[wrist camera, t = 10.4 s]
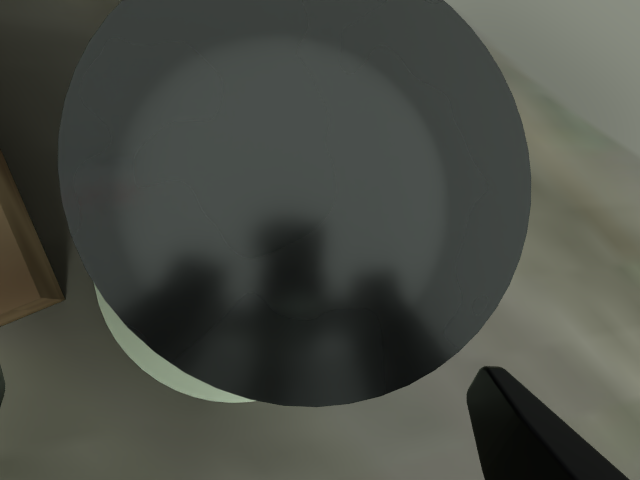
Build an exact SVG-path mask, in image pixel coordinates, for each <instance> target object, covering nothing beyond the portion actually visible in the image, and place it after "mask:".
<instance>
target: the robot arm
mask: <svg viewBox="0 0 640 480" xmlns="http://www.w3.org/2000/svg"><path fill="white" fill-rule="evenodd" d="M4 392H5V380H4V377H3V373H2V369H1V366H0V407H1V403H2V400H3V397H4ZM467 405H468V410H469V414H470V419H471V423H472V428H473V432H474V437H475V441H476V446H477V450H478V455H479V459H480V463H481V467H482V471H483V475H484V478H485V480H629V479H628V478H627V477H626V476H625V475H624V474H623V473H621V472H620V471H619V470H618V469H617V468H616V467H615V466H614V465H612V464H611V463H610V462H609V461H608V460H607V459H606V458H605V457H603V456H602V455H601V454H600V453H599V452H598V451H597V450H595V449H594V448H593V447H592V446H591V445H590V444H589V443H588V442H586V441H585V440H584V439H583V438H582V437H581V436H580V435H579V434H577V433H576V432H575V431H574V430H573V429H572V428H571V427H570V426H568V425H567V424H566V423H565V422H564V421H563V420H562V419H560V418H559V417H558V416H557V415H556V414H555V413H554V412H553V411H551V410H550V409H549V408H548V407H547V406H546V405H545V404H544V403H542V402H541V401H540V400H539V399H538V398H537V397H536V396H534V395H533V394H532V393H531V392H530V391H529V390H528V389H527V388H525V387H524V386H523V385H522V384H521V383H520V382H519V381H518V380H516V379H515V378H514V377H513V376H512V375H511V374H510V373H508V372H507V371H506V370H505V369H503V368H501V367H494V366H484V367H482V368H481V369H480V370H479V372H478V373H477V375H476V377H475V378H474V380H473V382H472V384H471V385H470V387H469V389H468V391H467Z"/></svg>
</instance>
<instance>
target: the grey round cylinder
mask: <svg viewBox="0 0 640 480" xmlns="http://www.w3.org/2000/svg"><path fill="white" fill-rule="evenodd" d="M58 174H59V182H60V190H61V199H62V204H63V208H64V212H65V215H66V219H67V223H68V226H69V230H70V233H71V237H72V239H73V242H74V244H75V246H76V248H77V251H78V253H79V255H80V258H81V260H82V262H83V264H84V267H85V269H86V271H87V272H88V274H89V276H90V277H91V279H92V280H93V282H94V284H95V285H96V287H97V289H98V290H99V292H100V293H101V295H102V297H103V298H104V300H105V301H106V302H107V304H108V305H109V306H110V307H111V308H112V310H113V311H114V312H115V313H116V314H117V316H118V317H119V318H120V319H121V320H122V322H123V323H124V324H125V325H126V326H127V328H128V329H130V330H131V331H132V332H133V333H134V334H135V335H136V336H137V337H138V338H139V339H141V340H142V341H143V342H144V343H145V344H146V345H147V346H148V347H149V348H150V349H152V350H153V351H154V352H155V353H156V354H158V355H159V356H161V357H162V358H164V359H165V360H167V361H168V362H170V363H171V364H173V365H174V366H176V367H177V368H178V369H180V370H181V371H183V372H184V373H186V374H188V375H190V376H192V377H194V378H196V379H198V380H200V381H202V382H204V383H207V384H209V385H211V386H213V387H215V388H217V389H220V390H223V391H226V392H229V393H232V394H235V395H238V396H241V397H244V398H247V399H250V400H256V401H261V402H267V403H272V404H277V405H283V406H305V407H322V406H332V405H342V404H350V403H354V402H359V401H363V400H367V399H371V398H375V397H379V396H382V395H385V394H387V393H390V392H392V391H395V390H397V389H400V388H402V387H405V386H407V385H410V384H411V383H413V382H415V381H417V380H418V379H420V378H422V377H424V376H425V375H427V374H429V373H431V372H432V371H434V370H436V369H437V368H438V367H440V366H441V365H442V364H444V363H445V362H446V361H447V360H449V359H450V358H451V357H453V356H454V355H455V354H457V353H458V352H459V351H460V350H461V349H462V348H463V347H464V346H465V345H466V344H467V343H468V342H469V341H470V340H471V339H472V338H473V337H474V336H475V335H476V334H477V333H478V332H479V330H480V329H481V328H482V327H483V325H484V324H485V323H486V321H487V320H488V319H489V317H490V316H491V315H492V313H493V312H494V311H495V309H496V308H497V306H498V304H499V302H500V300H501V299H502V297H503V295H504V293H505V292H506V290H507V288H508V286H509V285H510V282H511V280H512V277H513V275H514V272H515V270H516V267H517V265H518V262H519V260H520V257H521V253H522V249H523V245H524V241H525V238H526V234H527V228H528V221H529V213H530V206H531V172H530V162H529V152H528V147H527V142H526V138H525V133H524V129H523V124H522V121H521V118H520V115H519V112H518V109H517V106H516V103H515V100H514V98H513V95H512V93H511V91H510V89H509V87H508V85H507V83H506V80H505V78H504V76H503V74H502V72H501V70H500V69H499V67H498V66H497V64H496V62H495V61H494V59H493V57H492V56H491V54H490V52H489V51H488V49H487V48H486V46H485V45H484V44H483V43H482V41H481V40H480V39H479V37H478V36H477V35H476V34H475V32H474V31H473V30H472V28H471V27H470V26H469V25H468V24H467V23H466V22H465V21H464V20H463V19H462V18H461V17H460V16H459V14H458V13H457V12H456V11H455V10H454V9H453V8H452V7H451V6H450V5H448V4H447V3H446V2H445V1H444V0H122V1H121V2H120V4H119V5H118V6H117V7H116V8H115V9H114V10H113V11H112V12H111V13H110V14H109V15H108V16H107V18H106V19H105V20H104V22H103V23H102V24H101V26H100V27H99V29H98V30H97V31H96V33H95V34H94V36H93V37H92V38H91V40H90V41H89V43H88V45H87V47H86V49H85V51H84V53H83V55H82V57H81V59H80V61H79V63H78V65H77V66H76V68H75V71H74V74H73V77H72V80H71V83H70V86H69V89H68V92H67V95H66V98H65V101H64V106H63V112H62V117H61V123H60V129H59V140H58Z"/></svg>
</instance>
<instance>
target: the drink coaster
mask: <svg viewBox="0 0 640 480" xmlns="http://www.w3.org/2000/svg"><path fill="white" fill-rule="evenodd" d="M94 287H95V291H96V295H97V299H98V304H99V306H100V309H101V312H102V314H103V317H104V319H105V322H106V324H107V326H108V327H109V329H110V331H111V333H112V334H113V336H114V338H115V340H116V341H117V342H118V344H119V345H120V346H121V347H122V349H123V350H124V351H125V353H126V354H127V355H128V356H129V357H130V358H131V359H132V360H133V361H134V362H135V363H136V364H137V365H138V366H139V367H140V368H141V369H142V370H144V371H145V372H146V373H148V374H149V375H150V376H152V377H153V378H155V379H156V380H157V381H159V382H161V383H163V384H165V385H166V386H168V387H170V388H172V389H174V390H176V391H179V392H181V393H184V394H187V395H190V396H192V397H196V398H200V399H205V400H210V401H216V402H229V403H238V402H253V401H256V400H250V399H247V398H244V397H241V396H238V395H235V394H232V393H229V392H226V391H223V390H220V389H217V388H215V387H213V386H211V385H209V384H207V383H204V382H202V381H200V380H198V379H196V378H194V377H192V376H190V375H188V374H186V373H184V372H183V371H181V370H180V369H178V368H177V367H176V366H174V365H173V364H171V363H170V362H168V361H167V360H165V359H164V358H162V357H161V356H159V355H158V354H156V353H155V352H154V351H153V350H152V349H150V348H149V347H148V346H147V345H146V344H145V343H144V342H143V341H142V340H141V339H139V338H138V337H137V336H136V335H135V334H134V333H133V332H132V331H131V330H130V329H128V328H127V326H126V325H125V324H124V323H123V322H122V320H121V319H120V318H119V317H118V316H117V314H116V313H115V312H114V311H113V310H112V308H111V307H110V306H109V305H108V304H107V302H106V301H105V300H104V298H103V297H102V295H101V293H100V292H99V290H98V289H97V287H96V285H95V284H94Z"/></svg>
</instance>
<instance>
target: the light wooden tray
mask: <svg viewBox="0 0 640 480" xmlns="http://www.w3.org/2000/svg"><path fill="white" fill-rule="evenodd" d="M64 300H65V298H64V295H63V293H62V291H61V288H60V286H59V284H58V281H57V279H56V277H55V275H54V272H53V270H52V268H51V265H50V263H49V261H48V258H47V256H46V254H45V251H44V249H43V247H42V244H41V242H40V240H39V237H38V235H37V233H36V230H35V228H34V226H33V223H32V221H31V219H30V216H29V214H28V212H27V210H26V207H25V205H24V203H23V200H22V198H21V196H20V193H19V191H18V189H17V186H16V184H15V182H14V179H13V177H12V175H11V172H10V170H9V168H8V165H7V163H6V161H5V158H4V156H3V154H2V152H1V149H0V327H1V326H3V325H6V324H8V323H10V322H13V321H15V320H18V319H20V318H23V317H25V316H27V315H30V314H32V313H35V312H37V311H40V310H42V309H44V308H47V307H49V306H52V305H54V304H56V303H59V302H61V301H64Z"/></svg>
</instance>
